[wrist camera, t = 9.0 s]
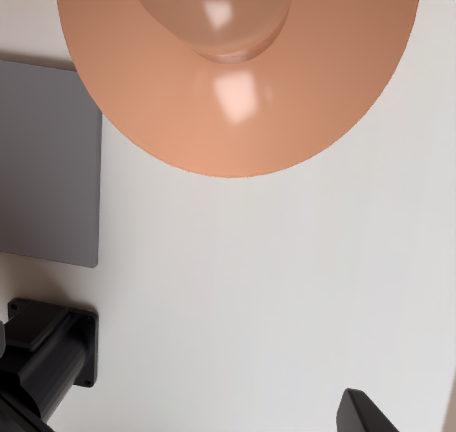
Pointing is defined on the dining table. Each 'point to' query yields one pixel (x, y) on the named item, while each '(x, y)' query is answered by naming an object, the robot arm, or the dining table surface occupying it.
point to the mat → (49, 164)
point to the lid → (235, 74)
